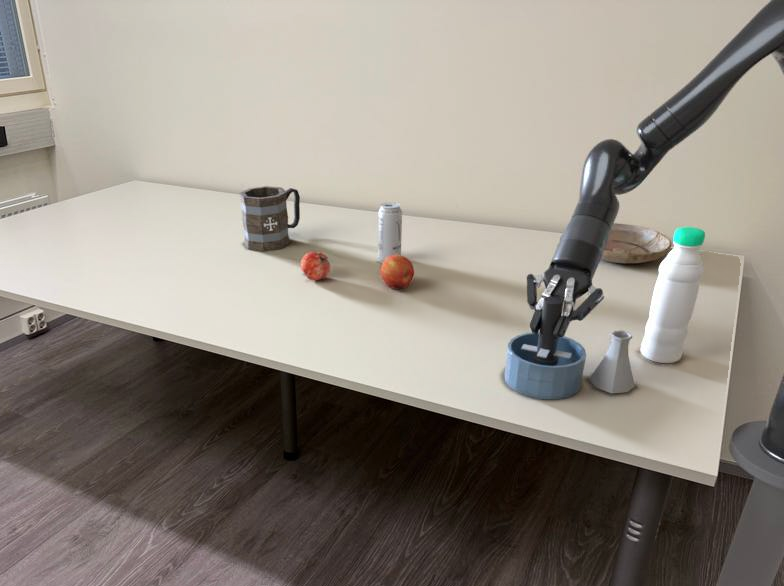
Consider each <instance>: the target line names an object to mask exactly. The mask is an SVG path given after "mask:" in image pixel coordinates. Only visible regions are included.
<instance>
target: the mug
mask: <svg viewBox="0 0 784 586" xmlns="http://www.w3.org/2000/svg"><path fill="white" fill-rule="evenodd" d="M292 193H293V195H294V196H293V197H294V202H293V210H294V211H293V213H294V217H293V222H292V223H291V224H289V214H288V208H287V201H288V199H289V197H290V195H291V194H292ZM239 197H240V202H241V221H242V226H243V232H244V233H243V235H244V241H243V243H244V245H245V247H246V248H247V249H248V250H253V251H260V252H269V251H273V250H281V249H283V248H285V247H286V246H287V245H289V244H290V243H291V241H290V236H289V229H296V227H297V226H299V222H300V219H301V211H300V210H301V209H300V204H301V203H300V202H301V201H300V200H301V197H300V193H299V190H298V189H296V188H293V187H291V188H290V187H289V188H288V189H287V190H285V189H284V188H283V187H279V186H269V185H267V186H266V185H265V186H258V187H250V188H249V187H248V188H247V189H245V190H242V191H240V192H239Z"/></svg>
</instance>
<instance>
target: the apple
mask: <svg viewBox="0 0 784 586" xmlns="http://www.w3.org/2000/svg"><path fill="white" fill-rule="evenodd" d="M379 270H380V271H379V272H380V273H379V274H380V277H381V280H382V281H383V283H384V284H385V285H386V286H388V287H389V288H391V289H394V290H403V289H405V288H407V287H408V286H409V285H410V284H411V283H412V281H413V280H414V276H415V269H414V265H413V263H412V262H411V260H410V259H409V258H408V257H406V256H404V255H402V254H401V255H397V254H394V255H390V256H389V257H387V258H386V259H385V260H384V261H383V262H381V265H380V269H379Z"/></svg>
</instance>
